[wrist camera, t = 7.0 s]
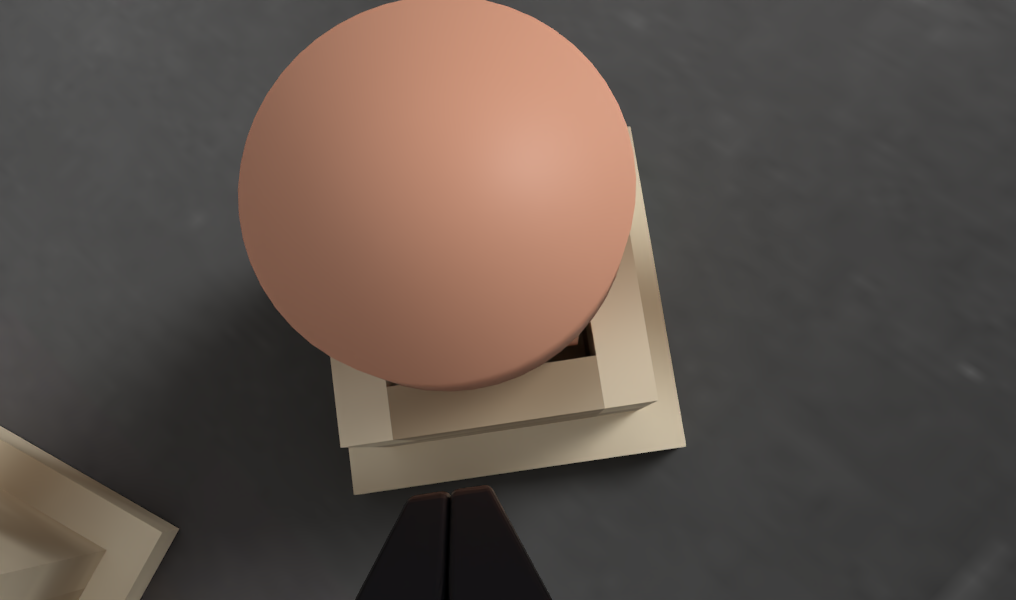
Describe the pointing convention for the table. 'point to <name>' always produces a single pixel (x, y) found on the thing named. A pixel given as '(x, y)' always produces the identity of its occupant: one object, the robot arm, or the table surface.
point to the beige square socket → (71, 532)
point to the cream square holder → (528, 399)
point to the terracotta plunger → (438, 193)
